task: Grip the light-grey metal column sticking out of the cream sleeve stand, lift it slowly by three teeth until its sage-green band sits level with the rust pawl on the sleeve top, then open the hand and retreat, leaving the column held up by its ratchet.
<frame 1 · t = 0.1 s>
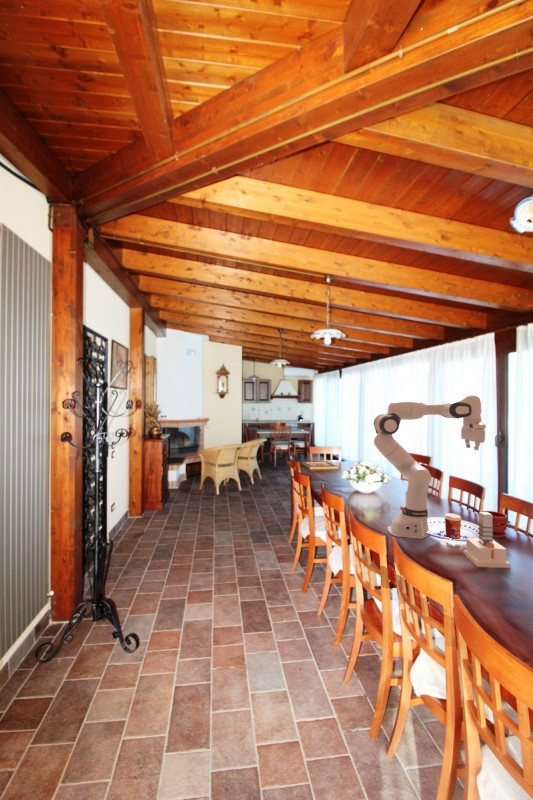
hand: (472, 448, 204), 48 cm above the table, fingers open, 8 cm apart
coffee cup: (453, 544, 191), on the table
plant pot: (493, 535, 203), on the table
sleeve stand: (485, 560, 171), on the table
column: (485, 536, 171), point 11 cm above the table, slide at 0.0 cm
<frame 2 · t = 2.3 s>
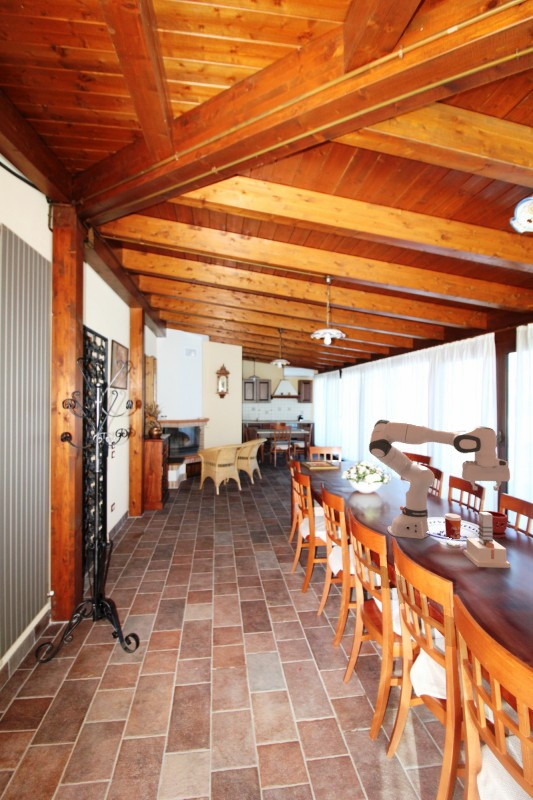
hand: (485, 490, 171), 33 cm above the table, fingers open, 8 cm apart
nothing on the table moved.
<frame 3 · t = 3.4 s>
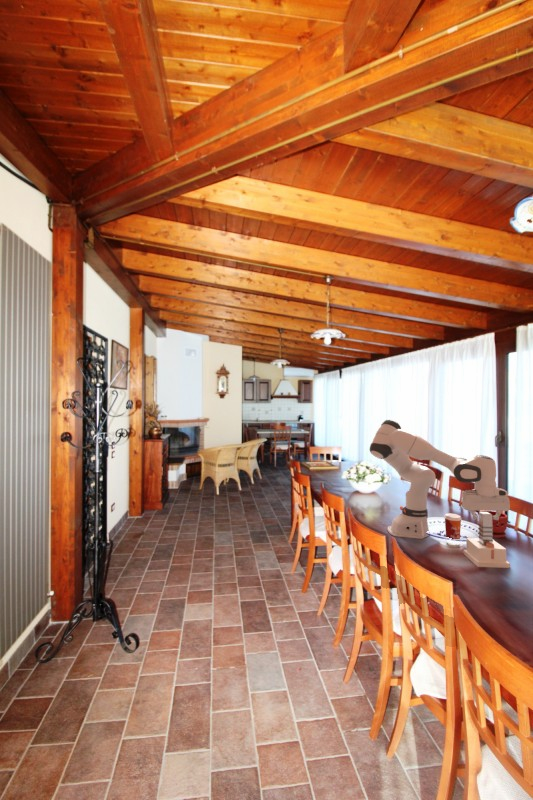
hand: (485, 519, 171), 19 cm above the table, fingers open, 8 cm apart
nothing on the table moved.
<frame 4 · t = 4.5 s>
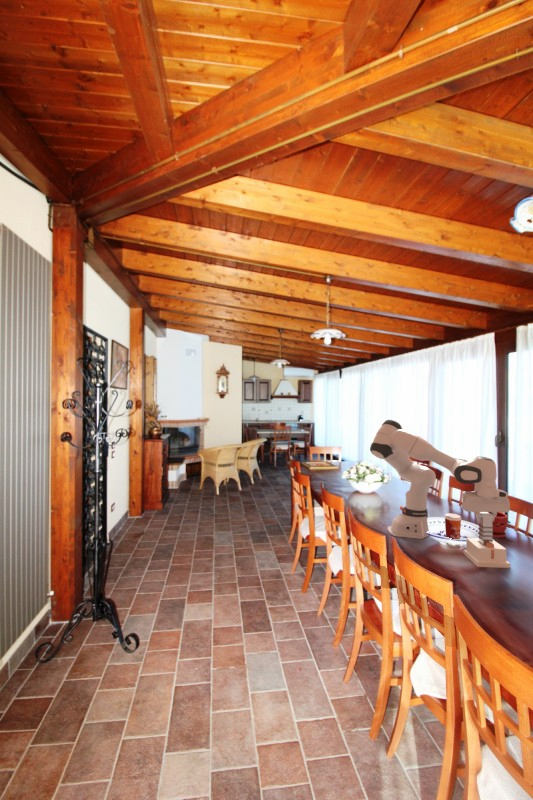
hand: (485, 520, 171), 19 cm above the table, fingers closed on column, 4 cm apart
column: (485, 536, 171), point 11 cm above the table, slide at 0.0 cm, touching gripper
everything else where it was.
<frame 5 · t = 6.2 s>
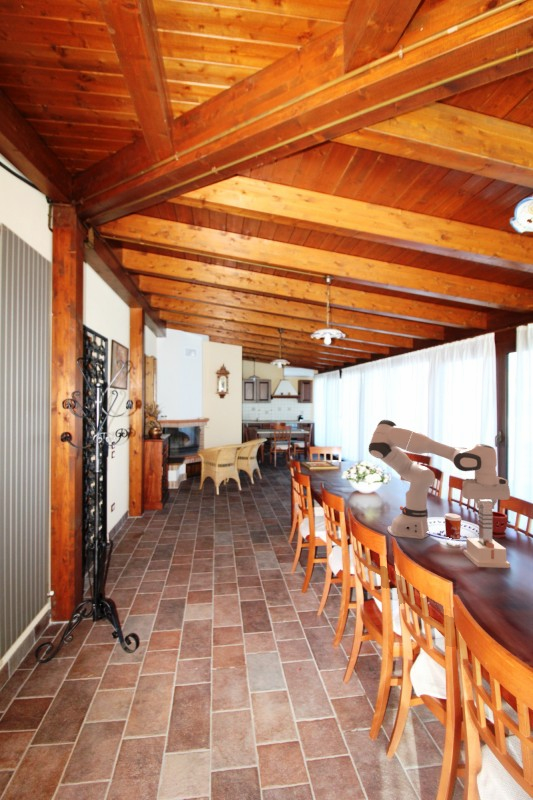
hand: (485, 508, 171), 25 cm above the table, fingers closed on column, 4 cm apart
column: (485, 524, 171), point 17 cm above the table, slide at 5.8 cm, touching gripper
everything else where it was.
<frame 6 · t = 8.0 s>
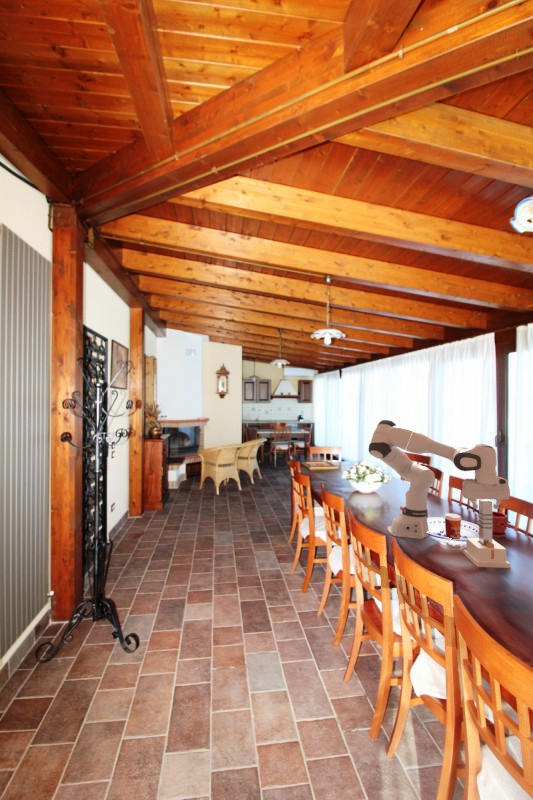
hand: (485, 508, 171), 25 cm above the table, fingers open, 8 cm apart
column: (485, 524, 171), point 17 cm above the table, slide at 5.9 cm
everything else where it was.
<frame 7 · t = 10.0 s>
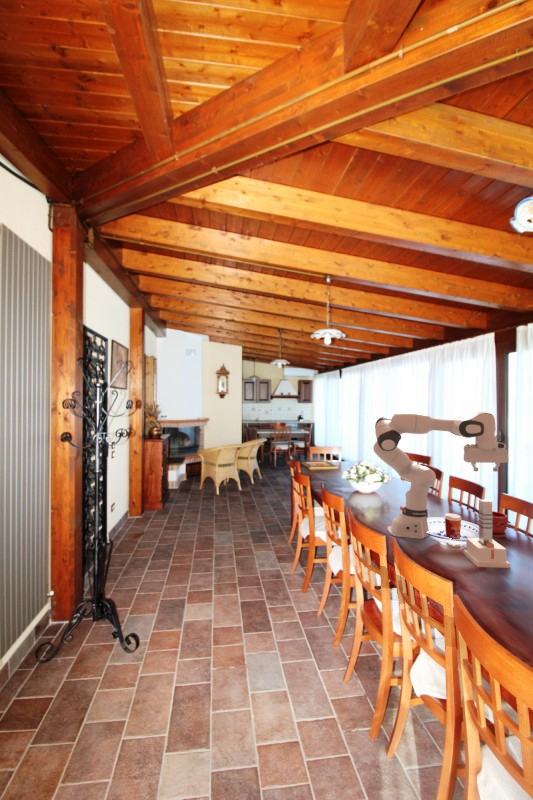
hand: (485, 471, 185), 39 cm above the table, fingers open, 8 cm apart
nothing on the table moved.
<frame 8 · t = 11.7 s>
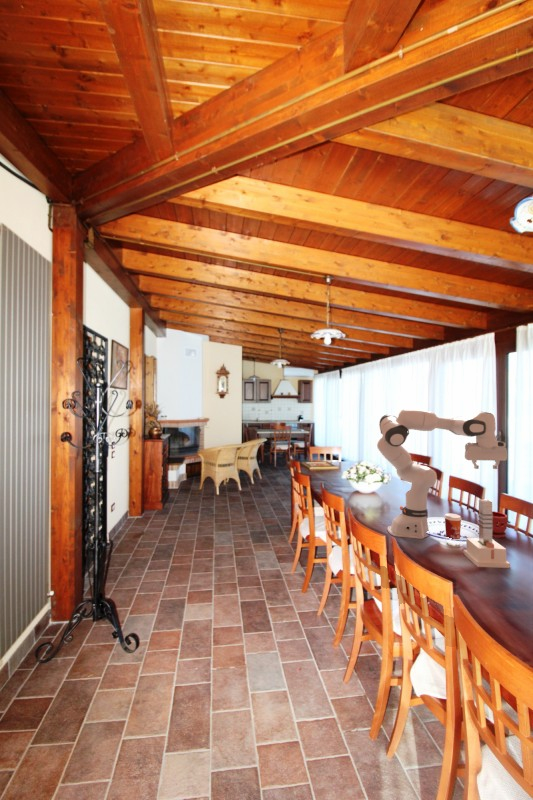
hand: (485, 468, 192), 39 cm above the table, fingers open, 8 cm apart
nothing on the table moved.
at the end: column slide at 5.9 cm; the gripper is holding nothing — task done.
